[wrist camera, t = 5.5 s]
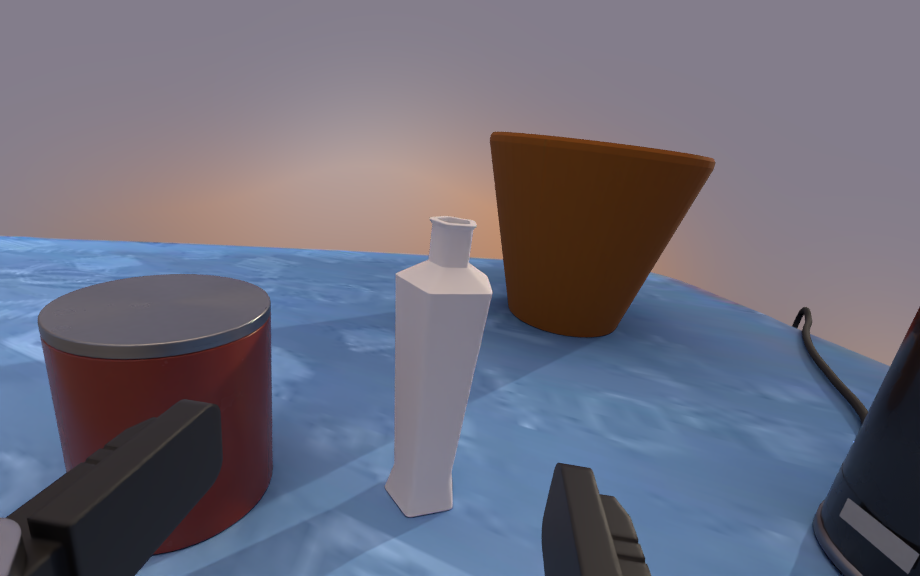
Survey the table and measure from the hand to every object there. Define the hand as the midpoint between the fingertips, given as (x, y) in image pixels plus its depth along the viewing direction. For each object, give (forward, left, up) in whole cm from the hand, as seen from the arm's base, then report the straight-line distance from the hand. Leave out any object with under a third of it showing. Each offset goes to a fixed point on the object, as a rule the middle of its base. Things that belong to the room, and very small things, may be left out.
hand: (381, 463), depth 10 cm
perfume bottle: (-10, -4, -11) cm, 16 cm away
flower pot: (-45, -7, -11) cm, 47 cm away
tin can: (-3, -14, -11) cm, 18 cm away
